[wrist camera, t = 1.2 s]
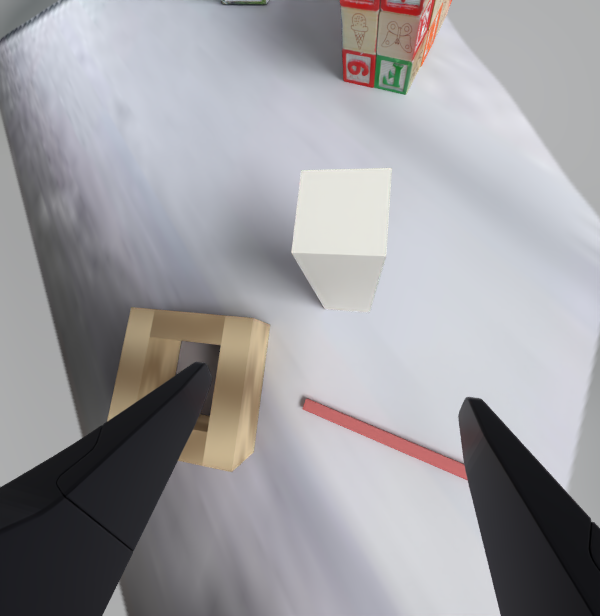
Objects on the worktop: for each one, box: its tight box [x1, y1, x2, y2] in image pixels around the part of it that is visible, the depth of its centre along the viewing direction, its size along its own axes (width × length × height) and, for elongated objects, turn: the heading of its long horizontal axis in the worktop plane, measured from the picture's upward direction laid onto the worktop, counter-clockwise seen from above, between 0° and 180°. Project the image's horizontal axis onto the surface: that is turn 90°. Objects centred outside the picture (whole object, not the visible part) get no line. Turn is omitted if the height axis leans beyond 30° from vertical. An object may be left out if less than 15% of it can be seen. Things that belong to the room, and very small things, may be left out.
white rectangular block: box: [291, 168, 392, 313], centre depth 17 cm, size 4×4×12 cm
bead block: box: [107, 307, 270, 472], centre depth 22 cm, size 10×10×4 cm
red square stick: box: [303, 399, 468, 480], centre depth 20 cm, size 14×1×1 cm, turn 70°
